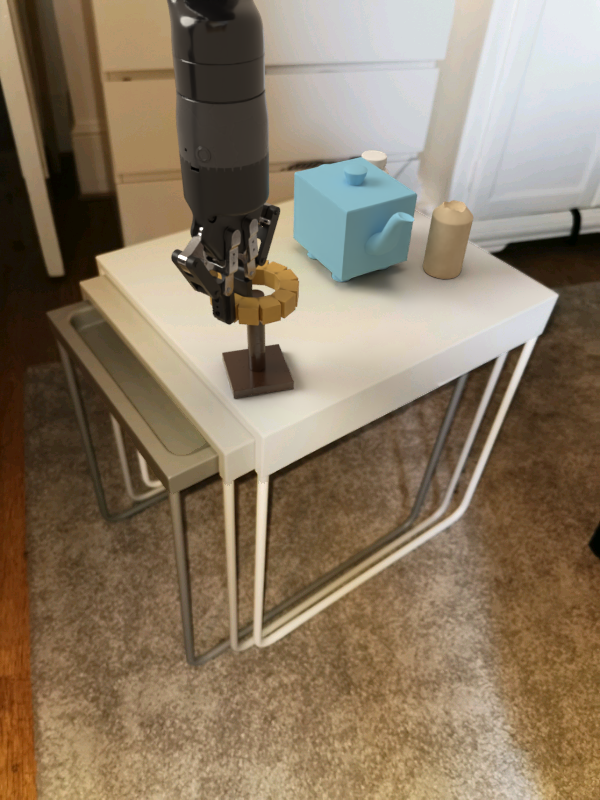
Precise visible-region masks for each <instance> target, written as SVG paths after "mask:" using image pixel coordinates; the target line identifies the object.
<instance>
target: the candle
mask: <svg viewBox="0 0 600 800" xmlns="http://www.w3.org/2000/svg"><path fill="white" fill-rule="evenodd" d="M473 222H474V215H473V213H472V211H471V210H470V209H469V208H468V206H467V205H466V203H465V202H464V201H460V200H455V199H453V200H450V201H443V202H442V203H441V204H439V205H438V206H437V207H435V208H434V209H433V210H432V212H431V219H430V224H429V229H428V234H427V241H426V247H425V252H424V256H423V263H422V269H423V271H425V273H426V274H427V275H429V276H430V277H433V278H436V279H442V280H450V279H455V278H456V277H458V276H460V274H461V272H462V268H463V265H464V262H465V261H464V260H465V256H466V251H467V248H468V244H469V240H470V235H471V230H472V226H473Z"/></svg>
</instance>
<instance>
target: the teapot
mask: <svg viewBox="0 0 600 800" xmlns="http://www.w3.org/2000/svg"><path fill="white" fill-rule="evenodd" d="M293 176H294V179H293V186H294V187H293V229H292V231H293V235H292V236H293V239H294V241H296V242H297V243H298V244H299V245H300V246H302V247H303V248H304V249H305V250H306V251H307V254H306V255H307V257H308V258H310V259H312V260H317V261H318V262H319V263H320V264H322V265H323V266H324V267H325V268H326V269H327V270H328V271H329V272H330V273H331V278H332V279H333V281H336V282H339V283H345V282H349V281H350V280H351V279H352V278H356V277H360V276H362V275H365V274H369V273H372V272H375V271H378V270H379V271H380V270H386V269H389V268H390V266H391V267H392V266H394V265H397V264H400V263H403V262H406V261H408V256H409V249H410V243H411V238H412V232H413V231H412V230H413V226H414V225H413V224H414V222H415V212H416V207H417V206H416V205H417V200H418V194H417V192H416V191H414V190H413V189H411V188H409V187H408V186H406V185H405V184H404V183H403V182H401V181H399V180H398V179H397V178H394V177H393V176H392V175H391V174H389V175H388V174H387V173H385V172H384V171H382V170H381V169H379V168H378V167H376V166H375V165H373V164H372V163H370V162H368V161H367V160H365V159H364V158H362V157H361V156H359V157H356V158H352V159H347V160H343V161H338V162H334V163H323V164H320V165H319V166H316V167H313V168H307V169H304V170H299V171H295V172H294V175H293Z"/></svg>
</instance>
